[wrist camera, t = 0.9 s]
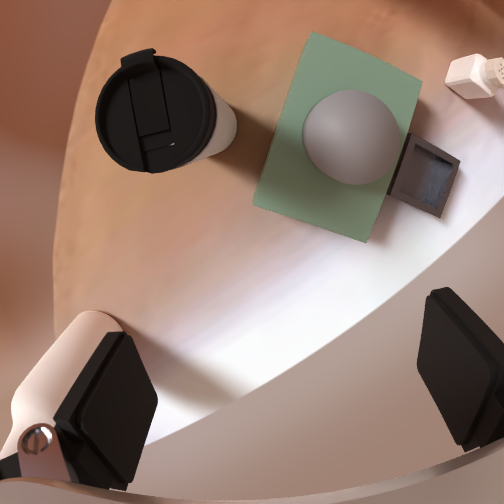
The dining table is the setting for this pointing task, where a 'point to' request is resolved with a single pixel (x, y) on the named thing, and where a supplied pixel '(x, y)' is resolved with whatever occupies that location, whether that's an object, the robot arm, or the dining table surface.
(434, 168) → the dark brown square tray
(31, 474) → the robot arm
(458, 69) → the pepper shaker
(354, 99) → the green slab with dome
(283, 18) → the dining table surface
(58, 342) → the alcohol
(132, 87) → the travel mug
